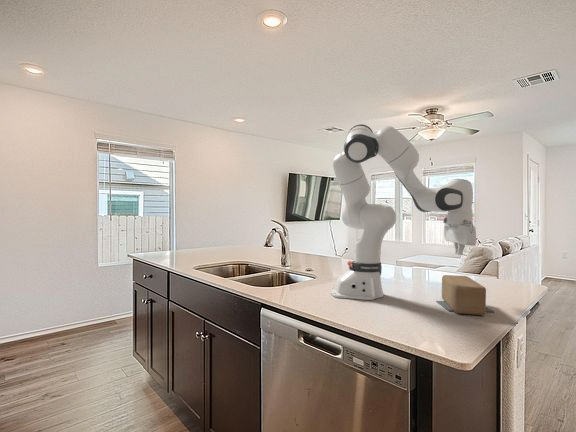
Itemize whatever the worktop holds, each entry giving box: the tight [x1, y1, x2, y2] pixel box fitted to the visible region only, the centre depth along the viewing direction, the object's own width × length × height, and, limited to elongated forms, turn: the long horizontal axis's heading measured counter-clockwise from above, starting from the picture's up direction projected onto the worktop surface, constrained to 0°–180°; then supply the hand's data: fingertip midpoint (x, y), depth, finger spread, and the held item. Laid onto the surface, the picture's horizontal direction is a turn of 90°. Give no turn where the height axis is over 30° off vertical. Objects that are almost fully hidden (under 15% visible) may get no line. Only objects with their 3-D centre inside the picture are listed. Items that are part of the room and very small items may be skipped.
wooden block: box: [441, 274, 487, 316], centre depth 125 cm, size 10×10×20 cm
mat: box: [435, 300, 495, 314], centre depth 126 cm, size 16×12×1 cm
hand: (458, 254), depth 133 cm, fingers closed
